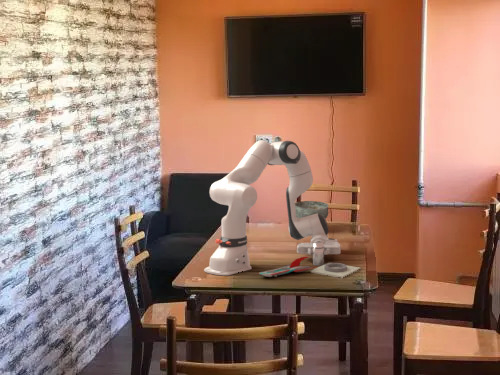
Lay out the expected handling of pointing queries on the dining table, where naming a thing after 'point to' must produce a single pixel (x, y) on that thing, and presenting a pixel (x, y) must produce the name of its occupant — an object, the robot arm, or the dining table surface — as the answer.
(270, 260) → the dining table surface
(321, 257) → the piston
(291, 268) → the toy spaceship
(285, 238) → the dining table surface
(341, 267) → the ring plate
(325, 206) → the bowl
